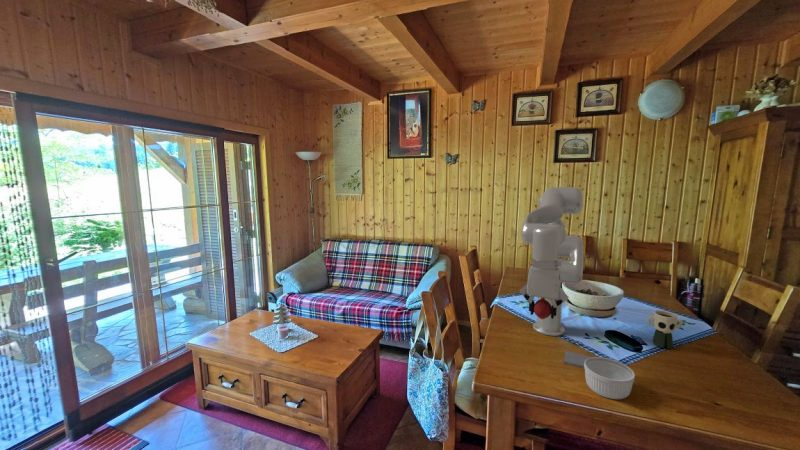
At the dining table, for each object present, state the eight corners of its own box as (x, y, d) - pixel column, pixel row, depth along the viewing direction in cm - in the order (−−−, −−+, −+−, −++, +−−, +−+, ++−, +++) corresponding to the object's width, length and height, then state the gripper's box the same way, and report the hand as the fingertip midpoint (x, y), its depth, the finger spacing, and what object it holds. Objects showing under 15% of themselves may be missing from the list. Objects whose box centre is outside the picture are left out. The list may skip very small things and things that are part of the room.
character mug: (648, 347, 125) (651, 315, 123) (642, 339, 131) (645, 308, 129) (683, 352, 120) (687, 319, 119) (676, 343, 127) (679, 312, 125)
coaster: (565, 352, 122) (565, 350, 122) (589, 358, 118) (590, 356, 118) (563, 363, 115) (563, 361, 115) (589, 369, 111) (589, 367, 111)
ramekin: (628, 381, 104) (630, 361, 103) (638, 408, 92) (640, 385, 91) (581, 372, 110) (582, 353, 109) (584, 395, 98) (586, 374, 97)
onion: (553, 323, 107) (554, 300, 106) (534, 322, 108) (535, 299, 107) (549, 316, 113) (550, 294, 112) (531, 315, 114) (532, 293, 113)
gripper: (574, 264, 106) (571, 316, 109) (519, 258, 116) (518, 307, 118) (572, 269, 100) (569, 325, 103) (514, 263, 109) (513, 314, 112)
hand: (542, 314), depth 110 cm, fingers closed on onion, 5 cm apart
